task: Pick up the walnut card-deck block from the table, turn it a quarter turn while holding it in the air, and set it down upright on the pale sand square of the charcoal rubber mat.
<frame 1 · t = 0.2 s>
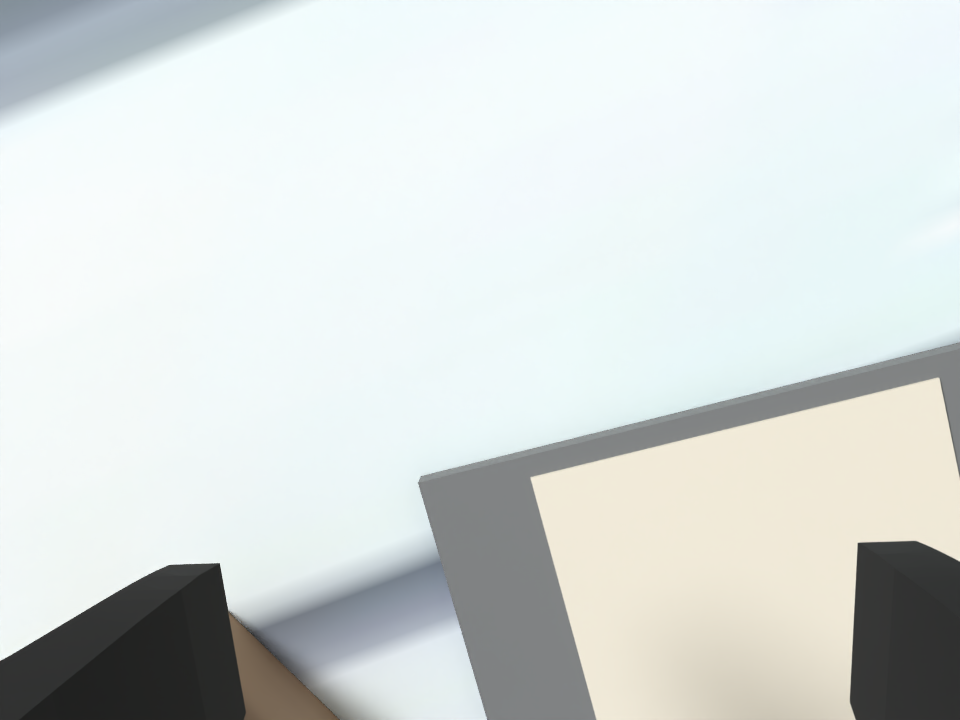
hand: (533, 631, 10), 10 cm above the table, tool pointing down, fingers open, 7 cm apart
mat: (768, 606, 21), on the table
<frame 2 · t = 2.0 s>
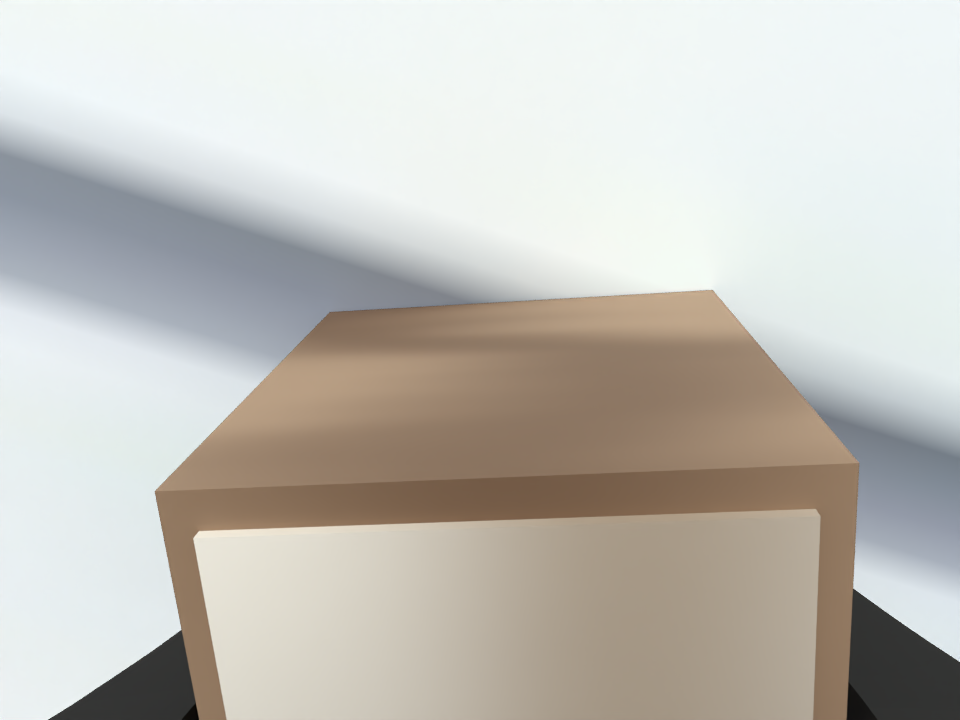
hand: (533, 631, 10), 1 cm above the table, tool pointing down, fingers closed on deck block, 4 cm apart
deck block: (534, 566, 11), on the table, touching gripper
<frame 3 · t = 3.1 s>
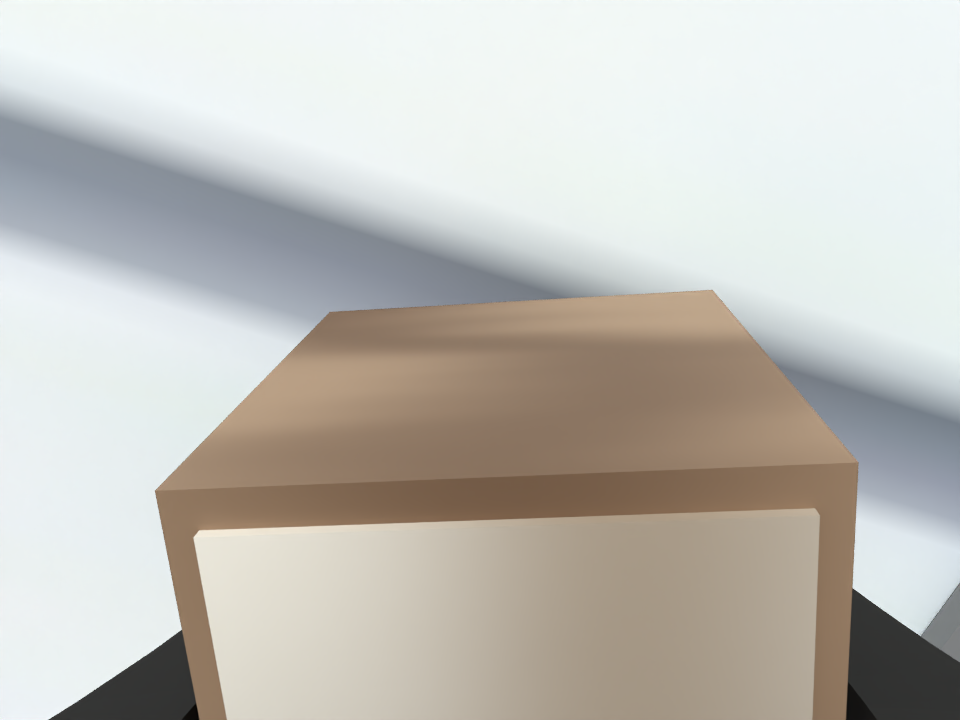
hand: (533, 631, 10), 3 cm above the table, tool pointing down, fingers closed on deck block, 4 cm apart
deck block: (534, 566, 11), point 2 cm above the table, touching gripper
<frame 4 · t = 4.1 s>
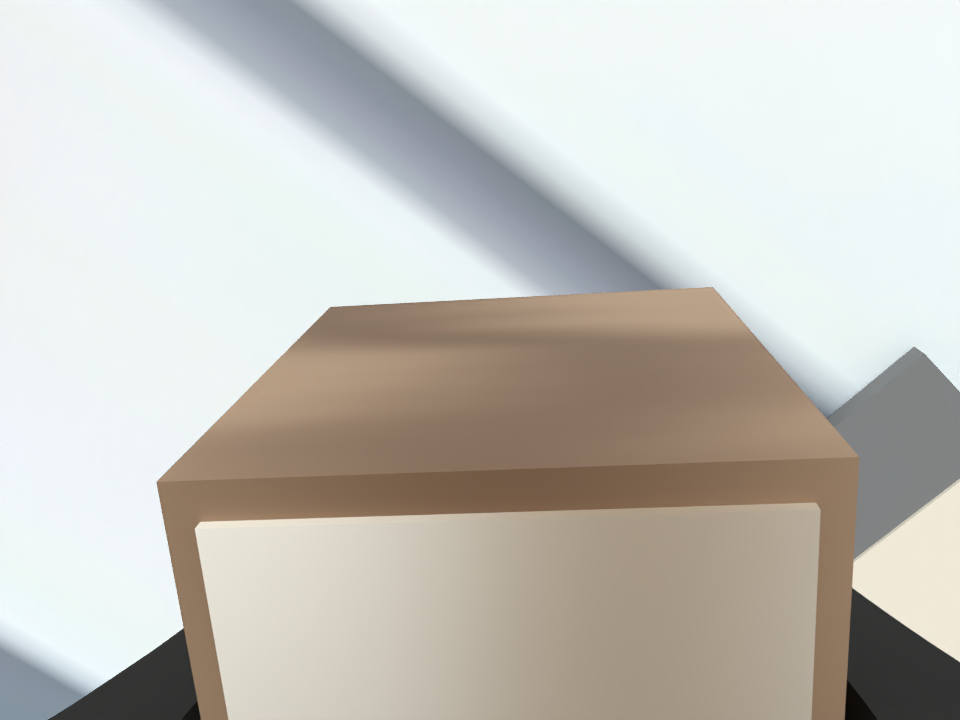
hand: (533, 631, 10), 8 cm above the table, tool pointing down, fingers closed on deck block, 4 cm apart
deck block: (533, 562, 11), point 7 cm above the table, touching gripper
mat: (930, 717, 20), on the table
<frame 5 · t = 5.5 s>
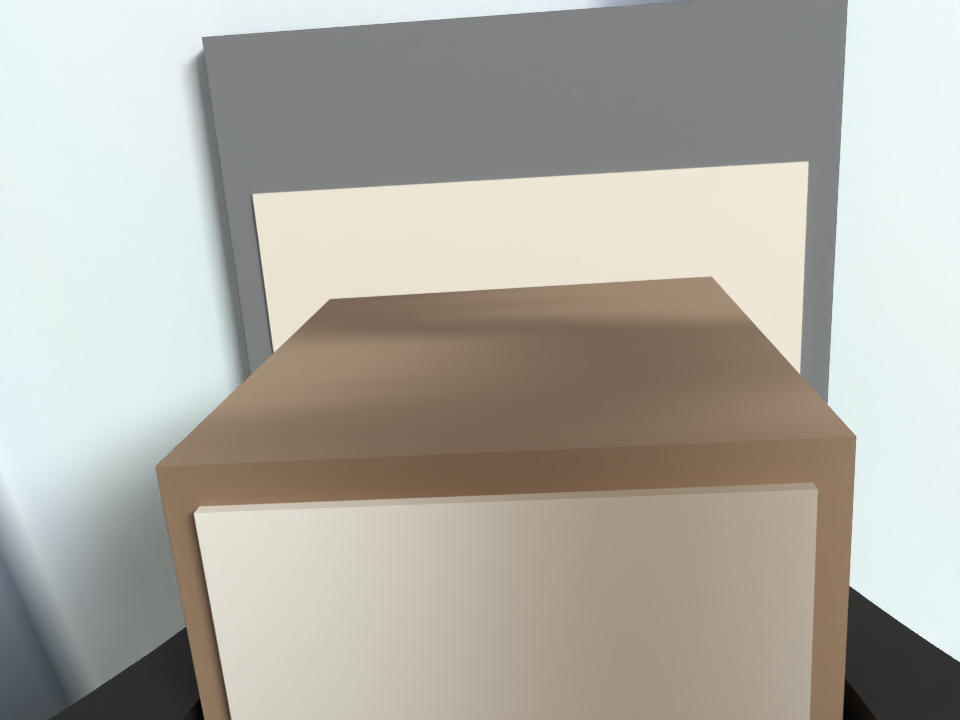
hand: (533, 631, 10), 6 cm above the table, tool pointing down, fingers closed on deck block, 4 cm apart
deck block: (534, 553, 11), point 5 cm above the table, touching gripper
mat: (536, 425, 16), on the table
when the fingers open (3 cm above the table, at t = 6.5 s): deck block drops 1 cm, resting on mat.
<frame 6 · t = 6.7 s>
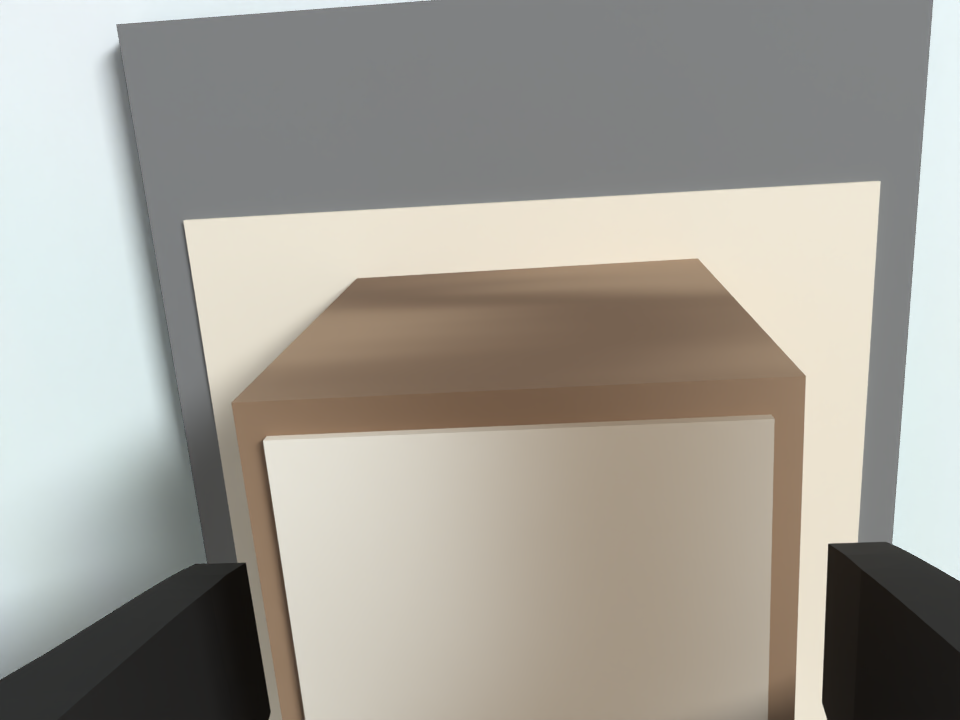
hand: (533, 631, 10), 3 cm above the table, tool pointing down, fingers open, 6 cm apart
deck block: (538, 509, 13), point 1 cm above the table, touching mat
mat: (536, 499, 13), on the table
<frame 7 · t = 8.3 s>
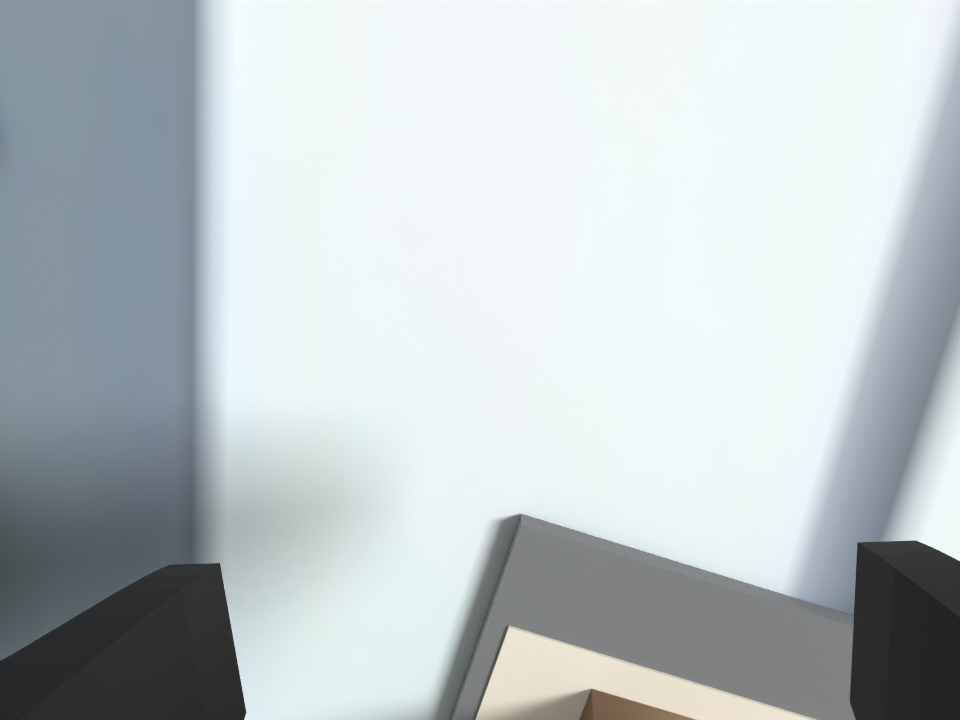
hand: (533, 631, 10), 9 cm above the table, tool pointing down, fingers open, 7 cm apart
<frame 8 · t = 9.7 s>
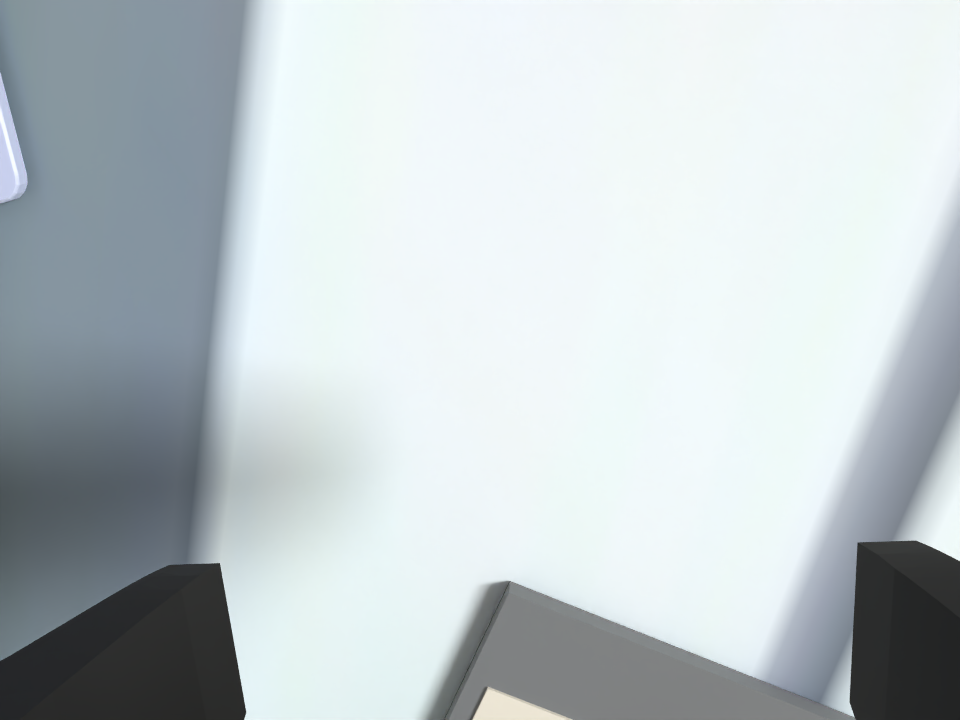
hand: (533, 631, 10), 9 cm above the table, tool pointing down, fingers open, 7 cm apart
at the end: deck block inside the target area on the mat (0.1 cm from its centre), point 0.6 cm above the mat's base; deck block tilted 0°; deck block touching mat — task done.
